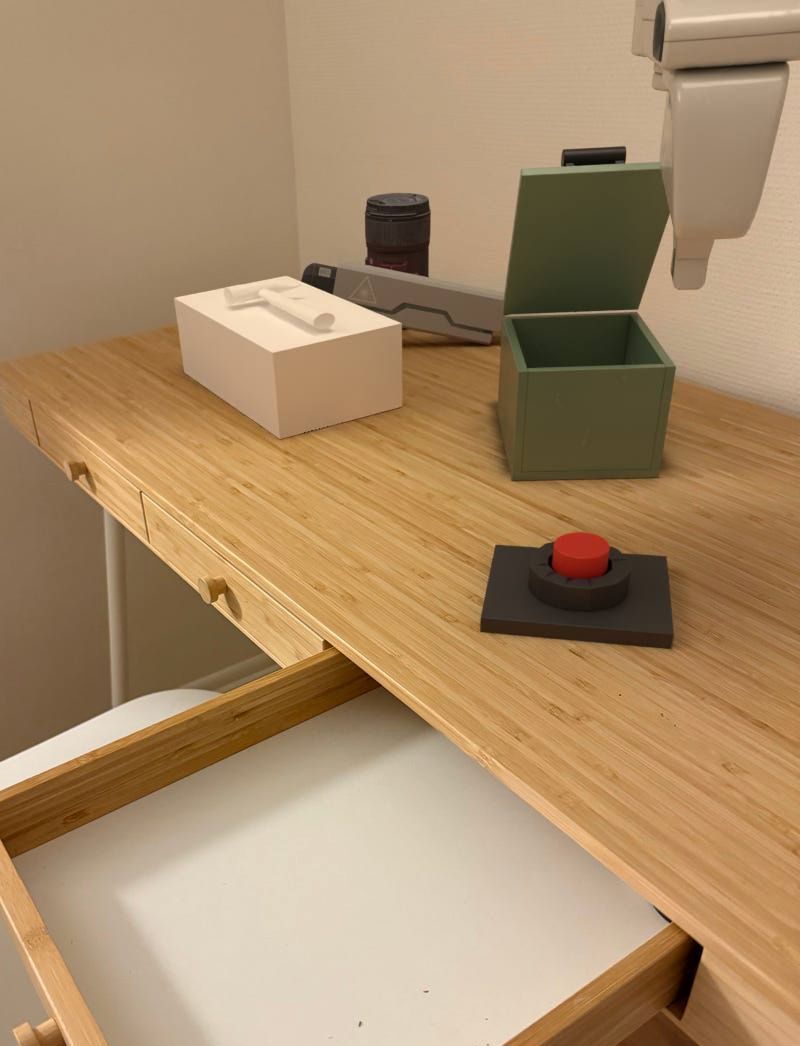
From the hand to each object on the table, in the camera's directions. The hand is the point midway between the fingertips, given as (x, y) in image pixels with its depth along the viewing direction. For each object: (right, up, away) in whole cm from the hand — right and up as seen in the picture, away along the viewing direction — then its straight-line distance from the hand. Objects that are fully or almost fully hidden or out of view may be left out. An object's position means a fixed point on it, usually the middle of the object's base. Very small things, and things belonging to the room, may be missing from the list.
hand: (686, 283), depth 58 cm
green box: (+2, -3, +32) cm, 32 cm away
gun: (-12, +14, +59) cm, 62 cm away
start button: (-5, -17, +6) cm, 18 cm away
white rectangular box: (-26, +6, +49) cm, 56 cm away
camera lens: (-12, +20, +67) cm, 71 cm away
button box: (-4, -20, +8) cm, 22 cm away
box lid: (+1, +12, +25) cm, 28 cm away
